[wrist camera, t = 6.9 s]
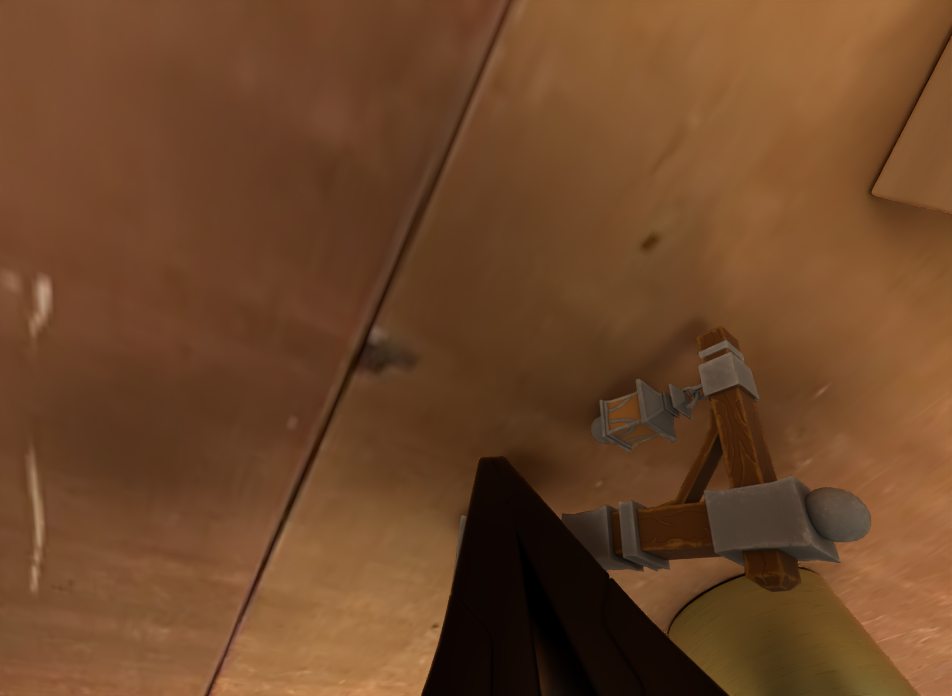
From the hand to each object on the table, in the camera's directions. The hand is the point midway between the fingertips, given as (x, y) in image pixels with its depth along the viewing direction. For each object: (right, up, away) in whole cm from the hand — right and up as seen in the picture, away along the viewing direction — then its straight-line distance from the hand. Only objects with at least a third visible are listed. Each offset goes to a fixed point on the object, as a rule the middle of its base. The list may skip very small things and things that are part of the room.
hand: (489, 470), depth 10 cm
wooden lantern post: (+2, 0, +1) cm, 2 cm away
